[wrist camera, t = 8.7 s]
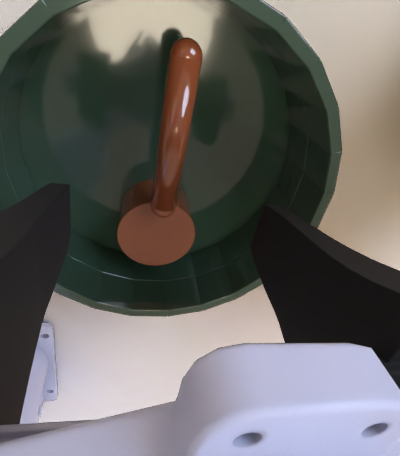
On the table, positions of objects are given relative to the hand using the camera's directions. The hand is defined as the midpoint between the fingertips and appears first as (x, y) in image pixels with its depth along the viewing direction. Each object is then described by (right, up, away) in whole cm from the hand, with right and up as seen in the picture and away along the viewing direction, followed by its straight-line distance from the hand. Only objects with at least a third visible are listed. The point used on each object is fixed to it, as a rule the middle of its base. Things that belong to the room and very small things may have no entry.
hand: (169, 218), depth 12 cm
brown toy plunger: (-1, +4, +5) cm, 6 cm away
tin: (-1, +4, +5) cm, 7 cm away
